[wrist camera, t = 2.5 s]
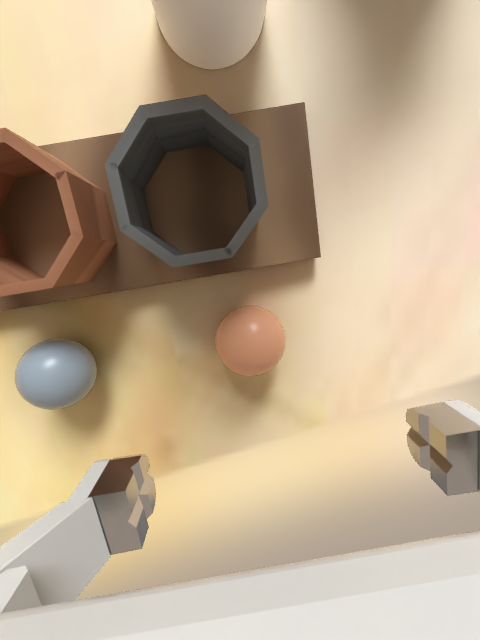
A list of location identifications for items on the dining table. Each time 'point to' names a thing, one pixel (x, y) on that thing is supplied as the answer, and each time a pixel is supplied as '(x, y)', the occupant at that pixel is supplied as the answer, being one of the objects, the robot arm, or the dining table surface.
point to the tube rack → (155, 202)
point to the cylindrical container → (210, 29)
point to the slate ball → (55, 373)
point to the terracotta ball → (250, 341)
